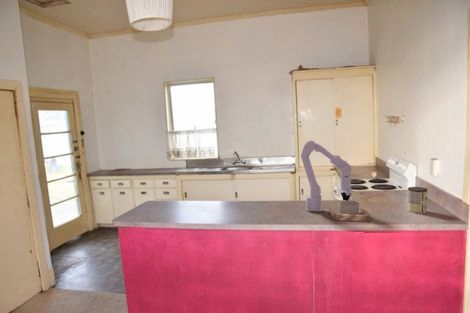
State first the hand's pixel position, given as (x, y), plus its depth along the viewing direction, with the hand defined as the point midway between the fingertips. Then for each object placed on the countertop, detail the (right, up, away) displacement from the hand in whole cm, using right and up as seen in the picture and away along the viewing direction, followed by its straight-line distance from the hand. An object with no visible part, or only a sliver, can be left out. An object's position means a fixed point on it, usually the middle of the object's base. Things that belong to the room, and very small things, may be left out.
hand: (345, 204), depth 194 cm
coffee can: (+42, -4, -4) cm, 42 cm away
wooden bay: (-2, -5, -10) cm, 11 cm away
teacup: (-1, -5, -8) cm, 9 cm away
